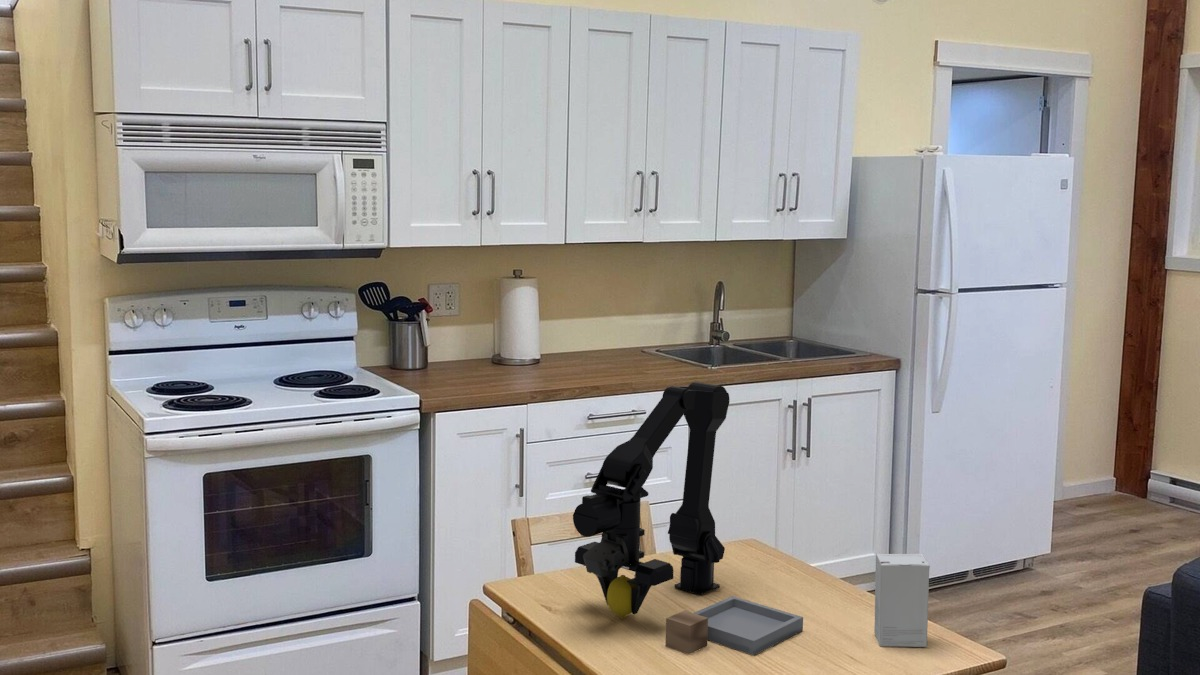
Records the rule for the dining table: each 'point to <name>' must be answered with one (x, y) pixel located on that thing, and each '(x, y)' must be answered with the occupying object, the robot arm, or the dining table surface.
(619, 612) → the lemon
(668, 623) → the walnut block
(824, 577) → the dining table surface
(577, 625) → the dining table surface
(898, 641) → the skincare box
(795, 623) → the dish
